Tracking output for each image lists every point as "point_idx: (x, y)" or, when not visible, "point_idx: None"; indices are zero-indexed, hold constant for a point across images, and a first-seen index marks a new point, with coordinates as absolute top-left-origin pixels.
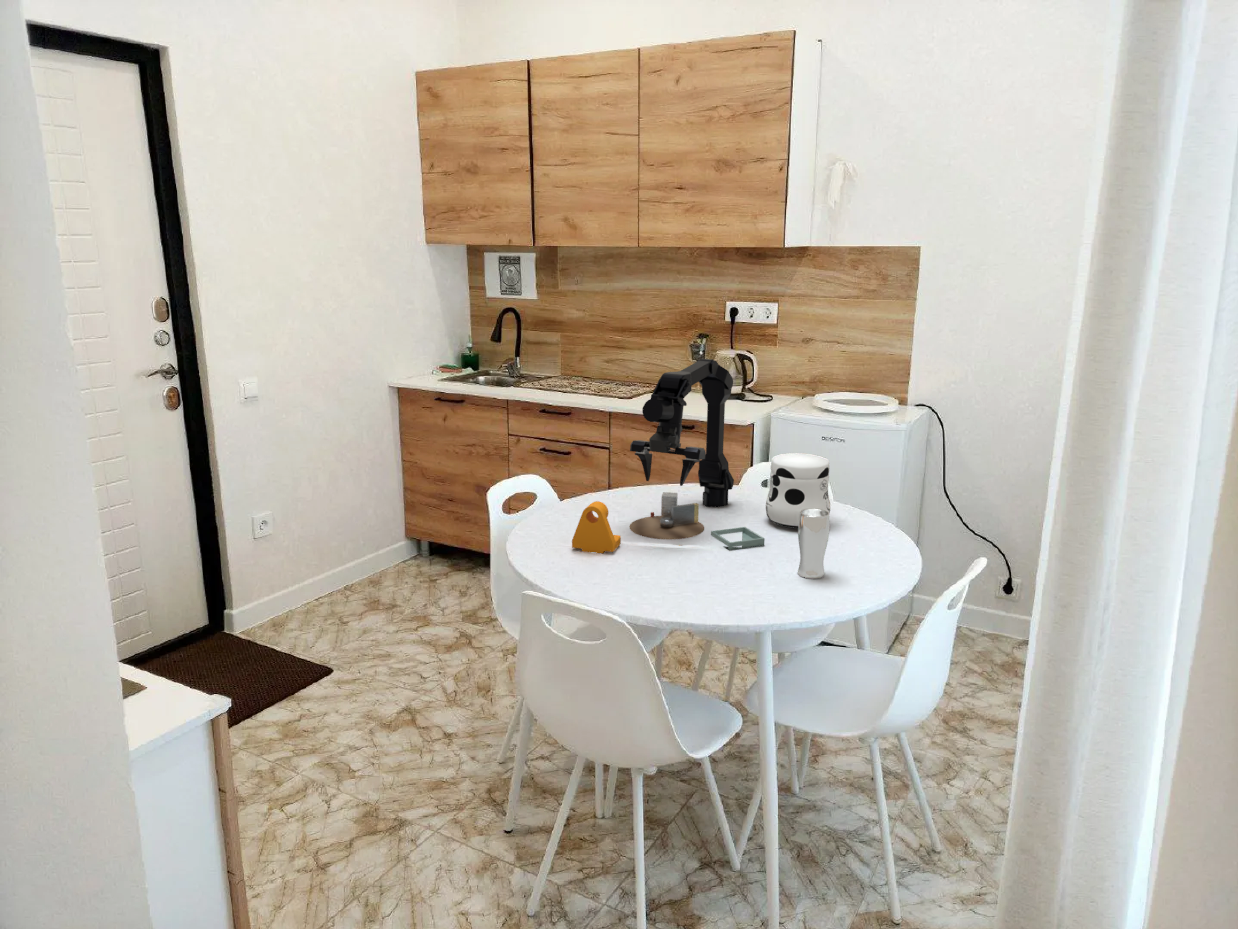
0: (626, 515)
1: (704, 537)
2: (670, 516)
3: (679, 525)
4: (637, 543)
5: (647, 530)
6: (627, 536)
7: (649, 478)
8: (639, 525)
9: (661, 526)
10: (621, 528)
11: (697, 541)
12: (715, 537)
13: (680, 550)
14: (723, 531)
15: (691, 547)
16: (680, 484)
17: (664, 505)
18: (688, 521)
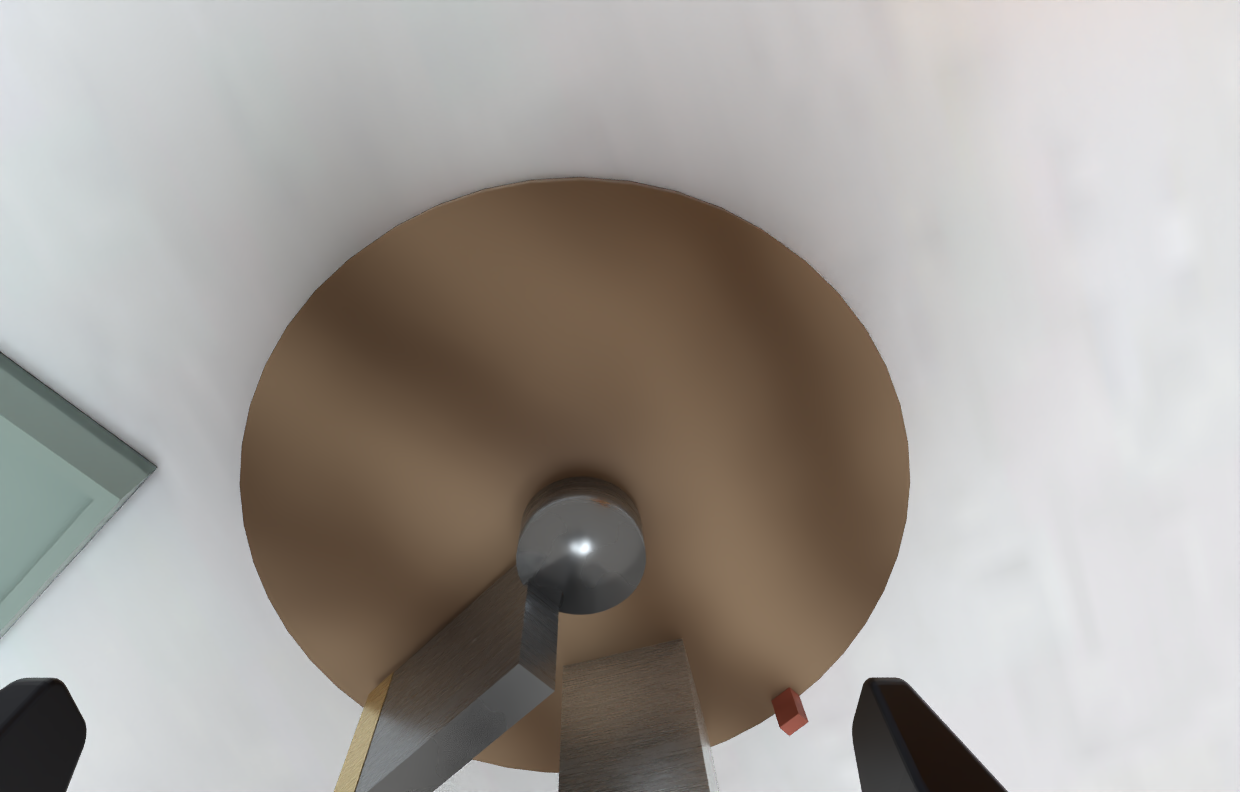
0: (1002, 699)
1: (220, 473)
2: (608, 685)
3: None
4: (708, 76)
5: (710, 373)
6: (859, 234)
7: (861, 787)
8: (821, 468)
9: None
10: (967, 413)
11: (222, 356)
12: (57, 426)
13: (238, 45)
14: (43, 556)
15: (188, 177)
16: (25, 695)
17: (671, 750)
18: (426, 651)
